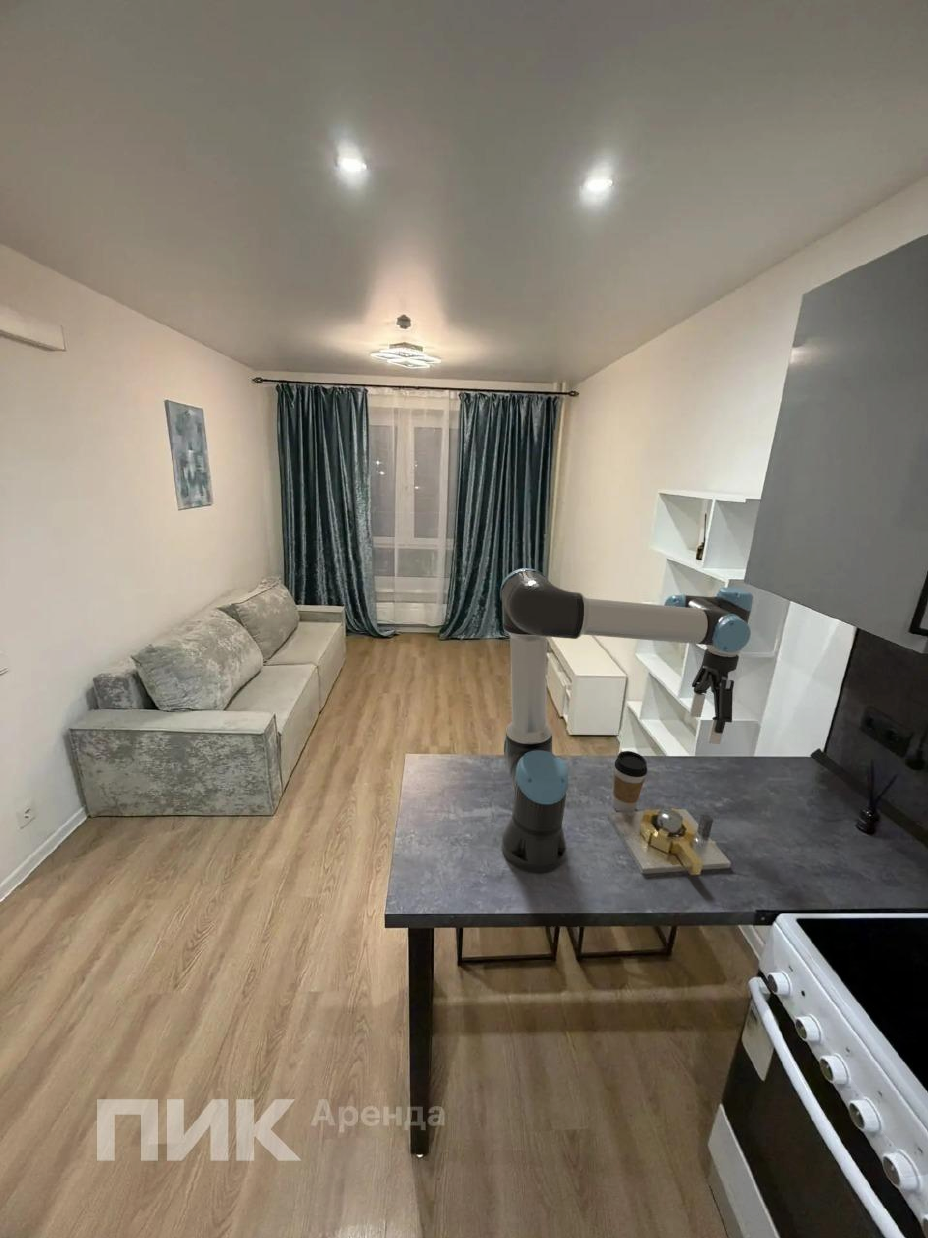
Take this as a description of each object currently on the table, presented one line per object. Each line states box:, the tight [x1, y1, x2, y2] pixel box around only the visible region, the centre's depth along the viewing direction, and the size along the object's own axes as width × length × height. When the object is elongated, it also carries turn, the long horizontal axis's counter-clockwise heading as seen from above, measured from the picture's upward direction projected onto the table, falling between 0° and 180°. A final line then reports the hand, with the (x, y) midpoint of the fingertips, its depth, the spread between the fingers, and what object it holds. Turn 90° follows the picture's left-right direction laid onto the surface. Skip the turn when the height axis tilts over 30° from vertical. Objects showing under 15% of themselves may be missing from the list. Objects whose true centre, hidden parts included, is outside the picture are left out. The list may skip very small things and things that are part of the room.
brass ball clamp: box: [640, 807, 703, 876], centre depth 120 cm, size 18×12×4 cm, turn 8°
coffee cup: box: [612, 750, 648, 812], centre depth 134 cm, size 8×8×15 cm
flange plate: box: [607, 808, 732, 875], centre depth 123 cm, size 22×21×8 cm
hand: (703, 729), depth 128 cm, fingers open, 13 cm apart
